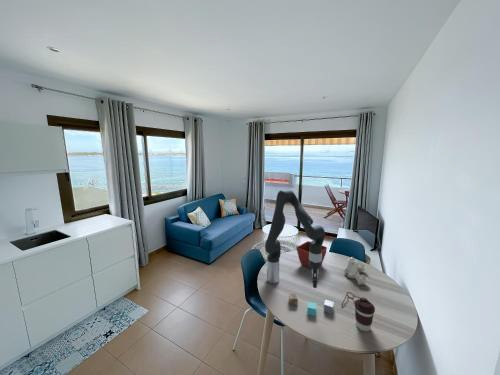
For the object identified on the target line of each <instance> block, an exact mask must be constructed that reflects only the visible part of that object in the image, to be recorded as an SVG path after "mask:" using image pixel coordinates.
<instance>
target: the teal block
mask: <svg viewBox="0 0 500 375" xmlns="http://www.w3.org/2000/svg"><path fill="white" fill-rule="evenodd" d="M306 312H307V313H306V314H307V315H308V316H312V317H317V303H316V302H311V301H307V311H306Z"/></svg>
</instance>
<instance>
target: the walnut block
mask: <svg viewBox="0 0 500 375" xmlns="http://www.w3.org/2000/svg"><path fill="white" fill-rule="evenodd" d="M298 301H299V298H298V294H297V293H292V292H290V293H288V302H289V306H292V307H293V306H295V307H296V306H298V304H299V302H298Z"/></svg>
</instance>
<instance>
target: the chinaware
mask: <svg viewBox="0 0 500 375" xmlns="http://www.w3.org/2000/svg"><path fill="white" fill-rule="evenodd" d="M357 261H358V260H357V259H356V258H354V257H353V256H351V257H348V258H347V266H346V267H345V268H344V270H343V272H344V274H345V276H346V277H347V278H349V279H355V280H356V281H357V285H358V286H359V285H360V286H364V285H366V283H367V281H369V278H368V277H367V276H366V275H365V274H360V273H363V272H365V270H366V269H367V266H366V264H362V263H361V262H357Z"/></svg>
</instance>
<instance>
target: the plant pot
mask: <svg viewBox="0 0 500 375" xmlns="http://www.w3.org/2000/svg"><path fill="white" fill-rule="evenodd" d="M310 242H311V241H310V240H309V241H307V240H306V241H305V242H304V243H302V244H300V245H298V246H296V251H297V256H298V259H299V262H300V264H301V266H302V267H305V268H307V269H310V270H312V268H311V267H310V266H309V247H310ZM327 250H328V247H327V246H326V245H322V263H323V262H324V260H325V258H326V257H325V256H326V254H327Z"/></svg>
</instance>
